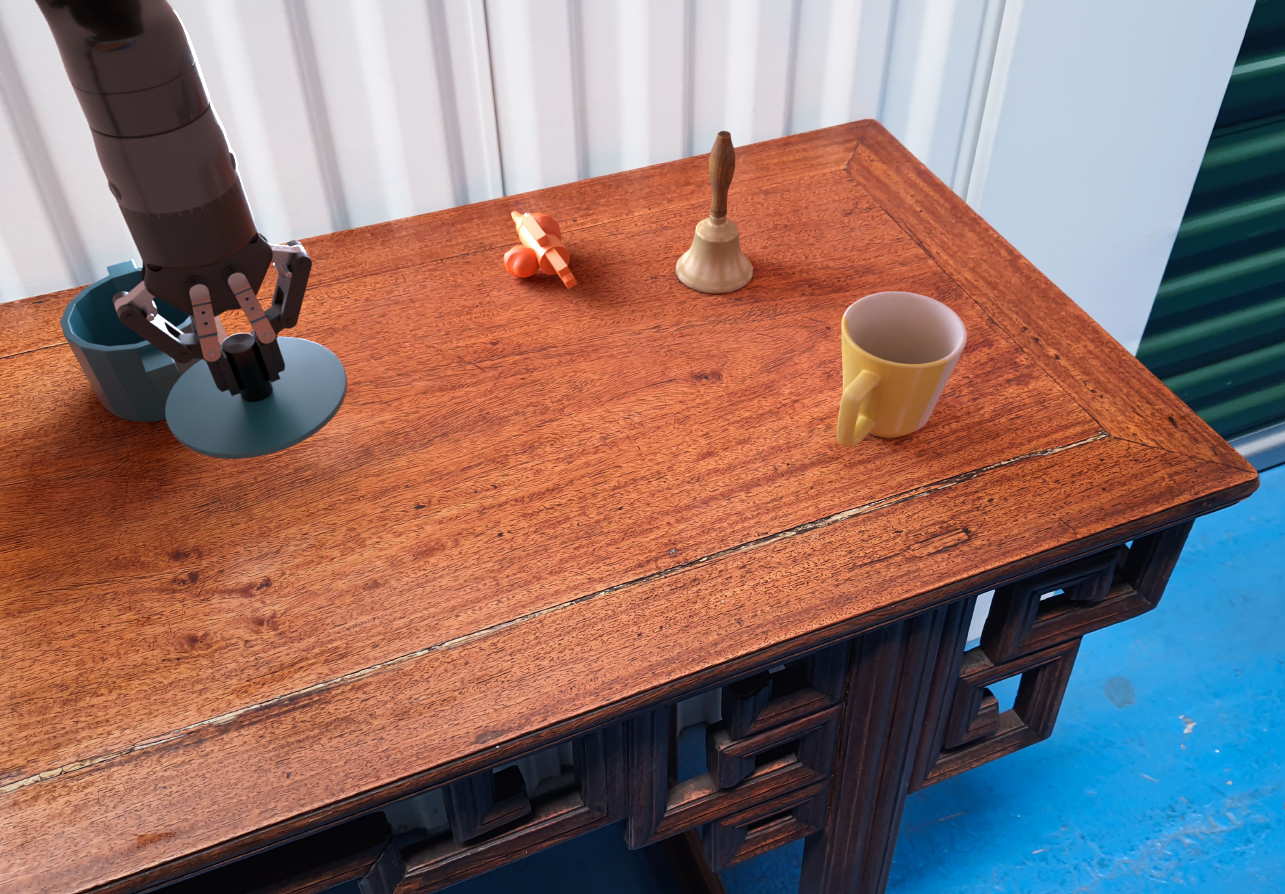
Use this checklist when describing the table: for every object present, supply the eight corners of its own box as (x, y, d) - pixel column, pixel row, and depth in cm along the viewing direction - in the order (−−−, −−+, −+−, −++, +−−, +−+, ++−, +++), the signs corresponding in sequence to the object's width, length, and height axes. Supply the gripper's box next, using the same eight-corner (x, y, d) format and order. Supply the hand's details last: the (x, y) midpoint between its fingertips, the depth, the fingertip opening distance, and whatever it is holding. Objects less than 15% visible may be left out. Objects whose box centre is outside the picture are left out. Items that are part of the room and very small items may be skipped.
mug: (877, 364, 95) (896, 274, 88) (964, 420, 90) (992, 329, 82) (777, 430, 89) (788, 339, 82) (864, 494, 84) (885, 403, 76)
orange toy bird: (581, 246, 99) (536, 189, 107) (518, 285, 99) (477, 225, 107) (598, 280, 103) (553, 223, 111) (537, 318, 103) (496, 258, 110)
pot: (119, 458, 87) (79, 387, 81) (84, 347, 98) (46, 277, 92) (259, 408, 92) (231, 336, 86) (211, 307, 103) (183, 237, 96)
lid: (193, 490, 70) (164, 430, 66) (153, 382, 78) (125, 323, 74) (373, 422, 75) (357, 363, 71) (318, 328, 83) (300, 269, 79)
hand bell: (755, 251, 109) (767, 114, 97) (750, 297, 103) (762, 157, 91) (680, 245, 109) (683, 109, 98) (670, 291, 104) (673, 151, 92)
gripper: (267, 125, 68) (326, 326, 80) (49, 180, 63) (147, 385, 75) (301, 174, 63) (357, 378, 75) (68, 237, 58) (169, 445, 70)
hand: (252, 381), depth 75 cm, fingers closed on lid, 2 cm apart
